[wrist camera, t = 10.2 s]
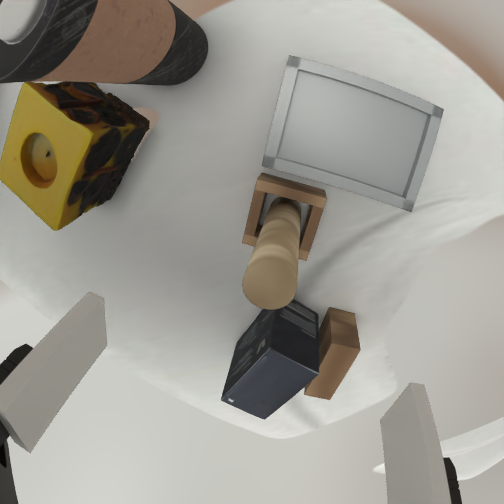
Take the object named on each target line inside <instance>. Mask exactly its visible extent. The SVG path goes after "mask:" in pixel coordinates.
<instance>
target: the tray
mask: <svg viewBox="0 0 504 504" xmlns="http://www.w3.org/2000/svg"><path fill="white" fill-rule="evenodd" d="M443 111H444V109H442V108H440V107H438V106H436V105H434V104H432V103H430V102H427V101H425V100H423V99H421V98H418V97H416V96H414V95H411V94H409V93H407V92H404V91H402V90H399V89H397V88H394V87H392V86H389V85H386V84H384V83H381V82H378V81H376V80H373V79H370V78H367V77H364V76H361V75H358V74H355V73H352V72H349V71H346V70H343V69H339V68H336V67H333V66H329V65H326V64H322V63H318V62H315V61H311V60H307V59H303V58H299V57H295V56H290V55H289V58H288V62H287V65H286V69H285V73H284V77H283V81H282V85H281V89H280V93H279V97H278V101H277V105H276V109H275V113H274V117H273V121H272V125H271V129H270V133H269V138H268V142H267V146H266V150H265V154H264V158H263V162H262V166H263V167H267V168H271V169H275V170H279V171H282V172H286V173H290V174H293V175H297V176H300V177H304V178H307V179H311V180H314V181H318V182H321V183H324V184H328V185H331V186H334V187H338V188H341V189H344V190H347V191H350V192H354V193H357V194H360V195H363V196H366V197H369V198H372V199H375V200H378V201H381V202H384V203H387V204H390V205H392V206H395V207H398V208H401V209H404V210H407V211H409V212H411V211H412V209H413V206H414V203H415V201H416V198H417V195H418V192H419V189H420V186H421V184H422V181H423V178H424V175H425V172H426V169H427V166H428V163H429V159H430V156H431V153H432V150H433V146H434V143H435V140H436V136H437V133H438V129H439V126H440V122H441V118H442V114H443Z"/></svg>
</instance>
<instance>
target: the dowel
mask: <svg viewBox="0 0 504 504" xmlns="http://www.w3.org/2000/svg"><path fill="white" fill-rule="evenodd" d="M300 222H301V207H300V205H299V203H298V202H297V201H296V200H292V199H289V198H285V197H281V196H280V197H277V198H276V199H274V200H273V202H272V203H271V205H270V208H269V210H268V213H267V216H266V218H265V221H264V224H263V227H262V229H261V232H260V235H259V237H258V240H257V243H256V245H255V248H254V251H253V254H252V256H251V259H250V262H249V264H248V267H247V270H246V272H245V275H244V278H243V282H242V287H243V292H244V294H245V296H246V297H247V299H248V300H249V301H250V302H251V303H253V304H254V305H256V306H258V307H260V308H263V309H269V310H273V309H279V308H282V307H284V306H286V305H287V304H289V303H290V302H291V301H292V300H293V298H294V296H295V294H296V288H297V274H298V258H299V241H300Z"/></svg>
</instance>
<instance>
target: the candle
mask: <svg viewBox="0 0 504 504" xmlns="http://www.w3.org/2000/svg"><path fill="white" fill-rule="evenodd" d="M149 122H150V121H149V120H147V119H146V118H145V117H143V116H142V115H140V114H139V113H138V112H136V111H135V110H133V109H132V107H130V106H129V105H127V104H126V103H124V102H122V101H121V100H120V99H118V98H117V97H115V96H112V95H111V93H108V94H104V93H103V92H102V91H101V90H100V89H99V88H97V86H96V85H95V83H93V82H71V81H64V82H60V83H57V84H48V85H46V84H43V83H34V82H25V83H23V85H22V88H21V90H20V93H19V96H18V100H17V103H16V106H15V109H14V112H13V116H12V119H11V123H10V126H9V130H8V134H7V138H6V142H5V145H4V149H3V153H2V157H1V161H0V180H1V181H2V182H3V183H4V184H5V185H6V186H7V187H8V188H9V189H10V190H11V191H12V192H13V193H15V194H16V195H17V196H18V197H19V198H20V199H21V200H22V201H23V202H24V203H25V204H26V205H27V206H28V207H29V208H30V209H32V211H33V212H34V213H35V214H36V215H37V216H39V217H40V218H41V219H42V220H43V221H44V222H45V223H46V224H47V225H48V226H49V227H51V228H52V229H53V230H56V231H57V230H59V229H61V228H63V227H65V226H66V225H68V224H70V223H71V222H73V221H74V220H76V219H77V218H78V217H79V216H81V215H82V214H83V213H85V212H87V211H89V210H90V209H91V208H93V207H95V206H99V205H101V204H103V203H104V202H106V201H107V200H110V199H111V197H112V196H113V194H114V193H115V191H116V188H117V186H118V185H119V184H120V182H121V178H122V176H123V175H124V172H125V171H126V169H127V166H128V165H129V164H130V162H131V159H132V158H133V157H134V153H135V151H136V149H137V147H138V145H139V144H140V142H141V140H142V138H143V137H144V135H145V133H146V131H148V130H149Z"/></svg>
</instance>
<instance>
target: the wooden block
mask: <svg viewBox="0 0 504 504" xmlns="http://www.w3.org/2000/svg"><path fill="white" fill-rule="evenodd" d="M318 337H319V339H318V340H319V375H318V376H316V377H315V378H314V379H313V380H312V381H311V382H310V383H309V384H307V385H306V386H305V391H304V395H308V396H313V397H318V398H323V399H328V400H330V399H331V397H332V396H333V394H334V393H335V391H336V389H337V388H338V386H339V385H340V383H341V382H342V380H343V378H344V377H345V375H346V373H347V372H348V370H349V368H350V367H351V365H352V363H353V362H354V360H355V358H356V357H357V355H358V353H359V351H360V350H361V349H360V343H359V337H358V331H357V326H356V320H355V314H354V313H350V312H346V311H342V310H338V309H334V308H330V307H329V309H328V311H327V314H326V316H325V318H324V321H323V323H322V325H321V327H320V329H319V332H318Z"/></svg>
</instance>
